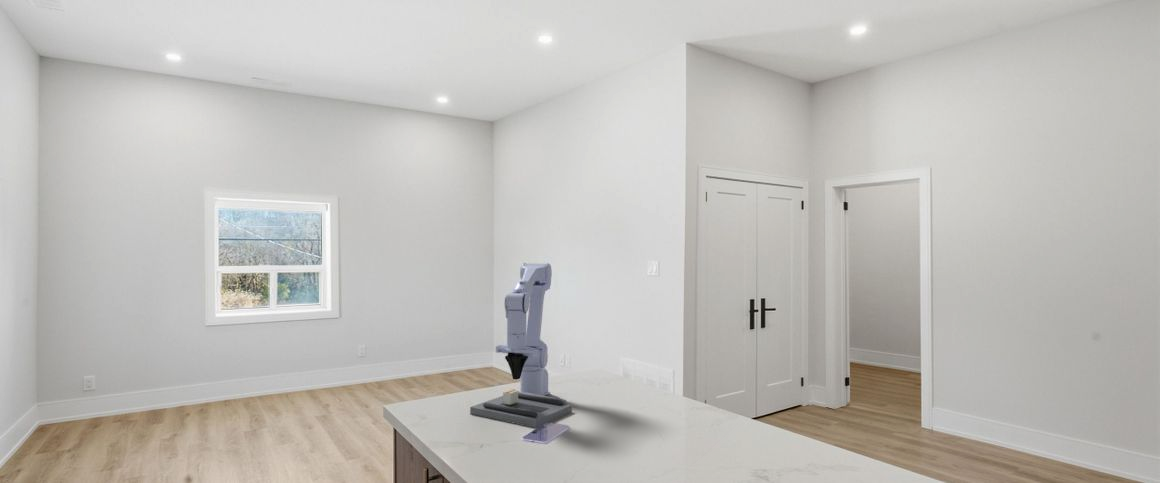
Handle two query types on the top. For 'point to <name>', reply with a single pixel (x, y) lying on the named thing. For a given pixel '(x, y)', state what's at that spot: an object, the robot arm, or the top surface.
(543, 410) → the panel
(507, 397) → the white orange striped block
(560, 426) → the mobile phone
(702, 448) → the top surface
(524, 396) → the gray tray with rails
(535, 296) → the robot arm
